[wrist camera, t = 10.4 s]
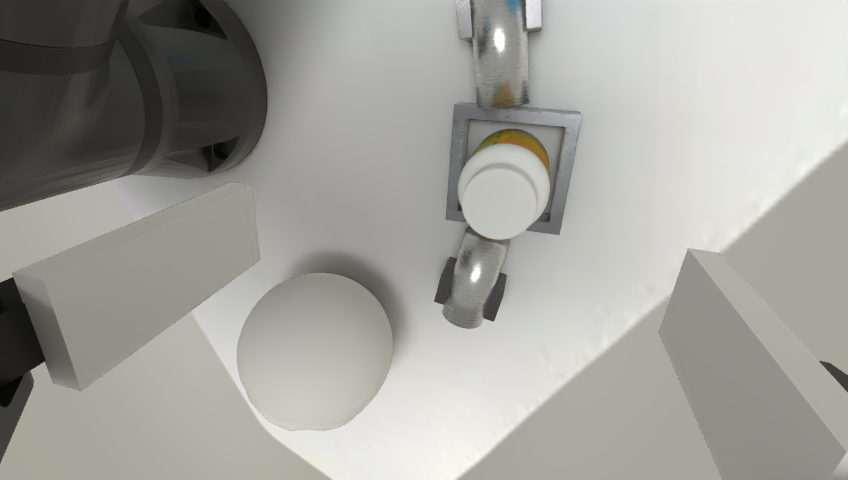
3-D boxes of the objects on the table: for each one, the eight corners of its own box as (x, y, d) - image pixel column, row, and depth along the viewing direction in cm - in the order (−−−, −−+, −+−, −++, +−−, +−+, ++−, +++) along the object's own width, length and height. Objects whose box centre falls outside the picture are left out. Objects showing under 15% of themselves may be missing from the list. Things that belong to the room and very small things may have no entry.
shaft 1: (542, 96, 29) (542, 103, 25) (472, 104, 30) (460, 111, 26) (540, -22, 27) (540, -38, 22) (464, -8, 28) (449, -21, 24)
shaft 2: (462, 211, 34) (450, 233, 29) (522, 229, 33) (519, 255, 29) (441, 286, 37) (428, 316, 32) (496, 304, 36) (489, 337, 32)
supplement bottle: (500, 112, 30) (483, 133, 21) (564, 154, 30) (574, 192, 21) (460, 175, 33) (430, 217, 24) (519, 214, 33) (511, 270, 24)
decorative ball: (284, 336, 43) (200, 426, 33) (298, 231, 38) (203, 298, 28) (394, 378, 42) (344, 488, 31) (424, 276, 37) (375, 365, 26)
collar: (450, 211, 34) (445, 219, 32) (459, 102, 31) (454, 104, 29) (558, 225, 32) (559, 234, 30) (579, 111, 29) (582, 115, 27)
